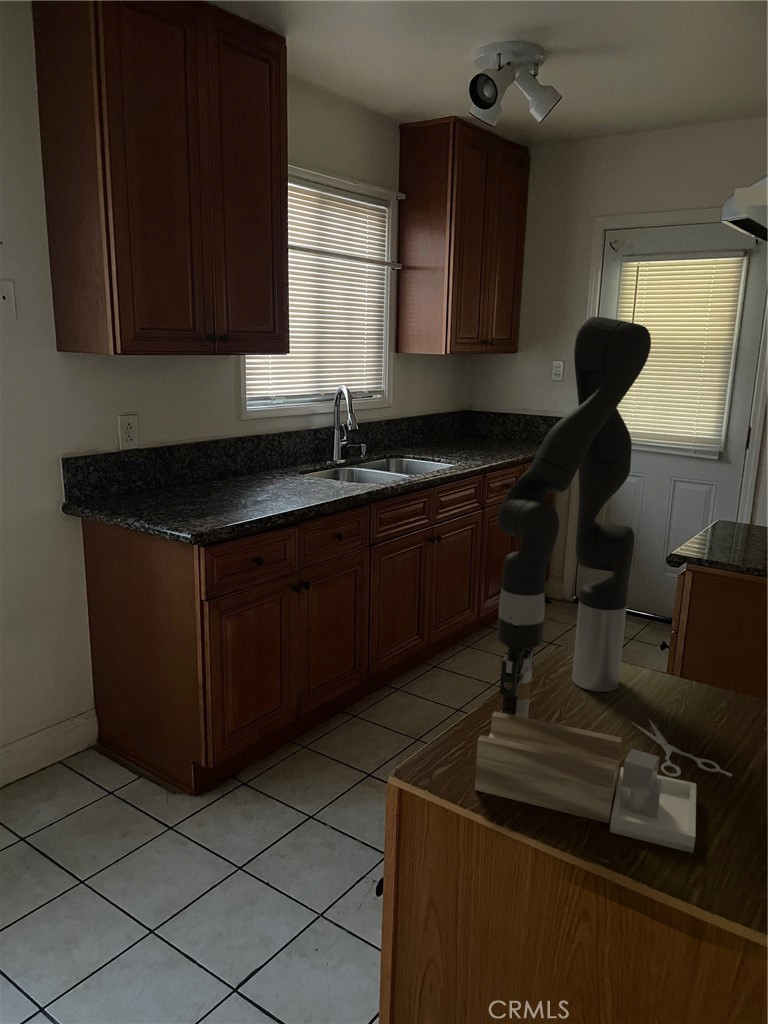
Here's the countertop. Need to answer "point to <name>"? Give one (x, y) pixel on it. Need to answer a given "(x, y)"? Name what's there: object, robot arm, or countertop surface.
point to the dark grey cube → (645, 801)
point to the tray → (659, 815)
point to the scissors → (670, 749)
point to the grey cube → (640, 771)
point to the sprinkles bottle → (523, 694)
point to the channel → (549, 766)
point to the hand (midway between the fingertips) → (515, 703)
